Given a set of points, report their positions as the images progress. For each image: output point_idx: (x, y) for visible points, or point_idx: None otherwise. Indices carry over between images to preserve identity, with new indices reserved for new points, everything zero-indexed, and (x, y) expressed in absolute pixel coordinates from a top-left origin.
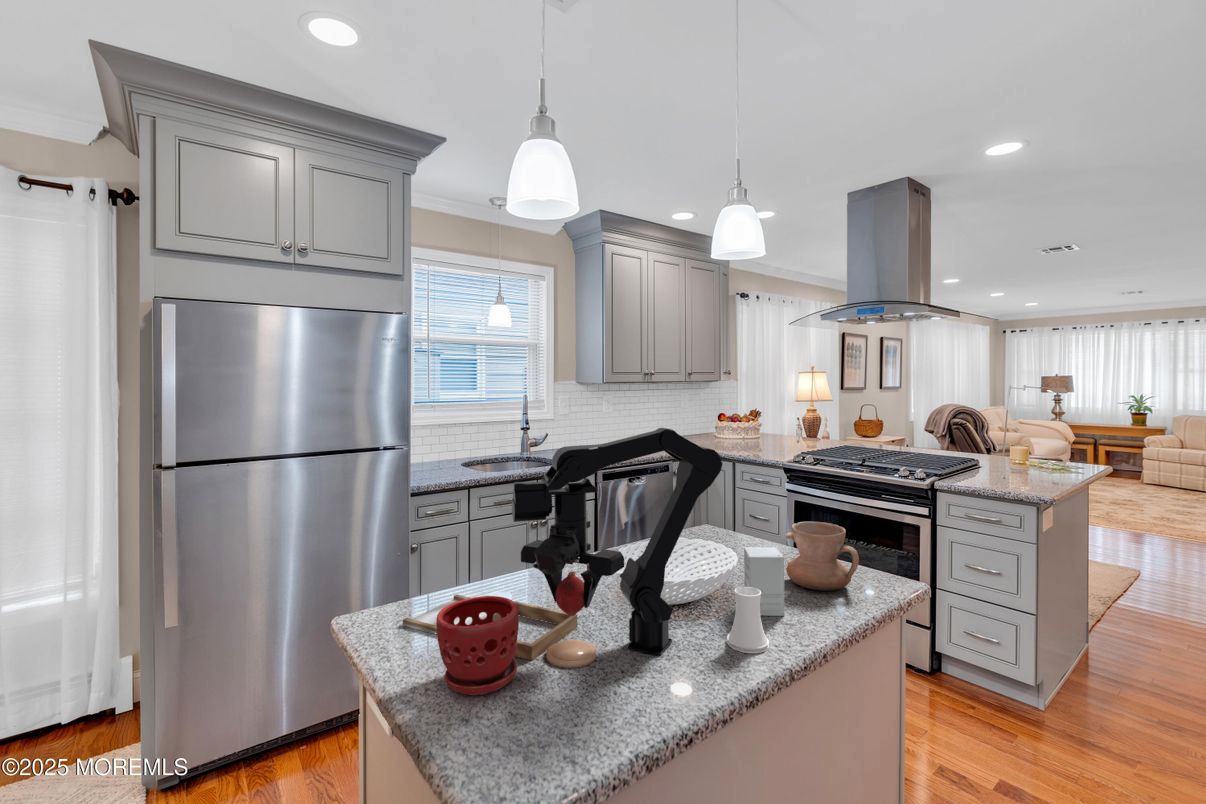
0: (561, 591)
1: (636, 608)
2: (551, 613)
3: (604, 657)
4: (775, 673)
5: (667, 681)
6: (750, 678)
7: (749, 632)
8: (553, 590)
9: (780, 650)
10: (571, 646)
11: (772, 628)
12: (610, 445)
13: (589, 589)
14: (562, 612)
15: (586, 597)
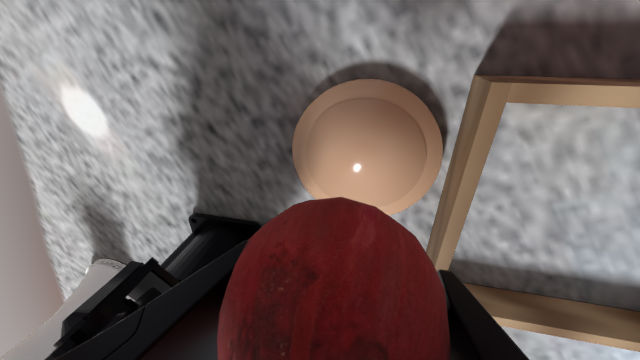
0: (354, 294)
1: (149, 292)
2: (510, 313)
3: (283, 174)
4: (41, 216)
5: (120, 128)
6: (48, 191)
7: (78, 289)
8: (480, 335)
9: (83, 274)
10: (373, 178)
11: None
12: None
13: (119, 322)
14: None
15: (199, 276)
